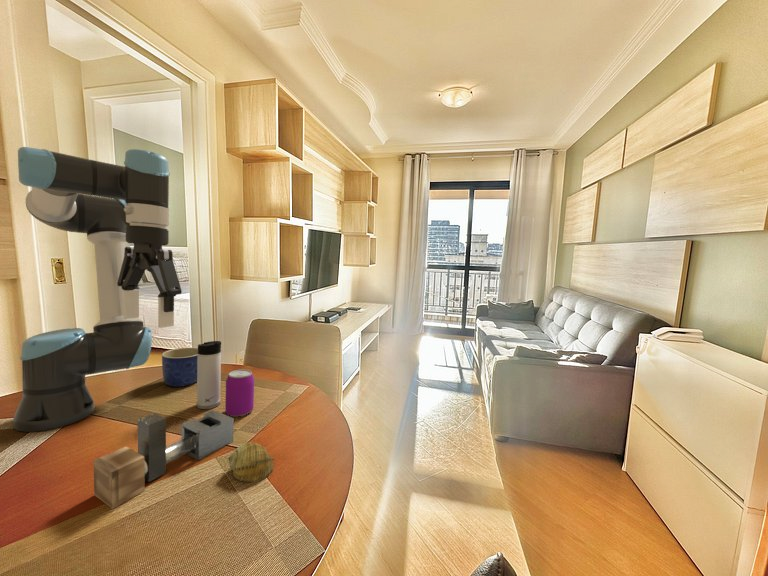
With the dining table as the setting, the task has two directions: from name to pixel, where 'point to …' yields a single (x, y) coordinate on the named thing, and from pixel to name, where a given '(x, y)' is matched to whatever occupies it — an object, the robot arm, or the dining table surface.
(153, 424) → the sliding bolt
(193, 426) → the sleeve
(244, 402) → the beverage can
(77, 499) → the dining table surface
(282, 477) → the dining table surface
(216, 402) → the travel mug
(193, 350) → the planter
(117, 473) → the socket
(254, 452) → the seashell
